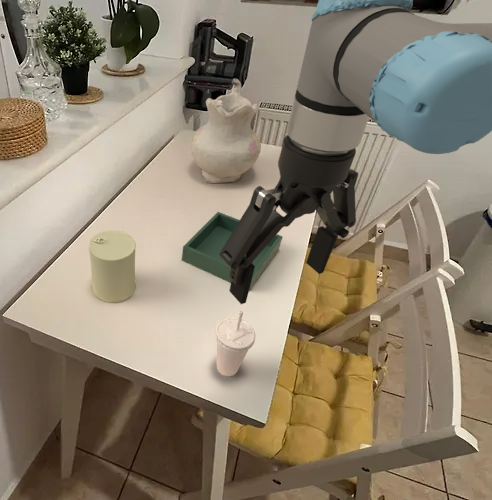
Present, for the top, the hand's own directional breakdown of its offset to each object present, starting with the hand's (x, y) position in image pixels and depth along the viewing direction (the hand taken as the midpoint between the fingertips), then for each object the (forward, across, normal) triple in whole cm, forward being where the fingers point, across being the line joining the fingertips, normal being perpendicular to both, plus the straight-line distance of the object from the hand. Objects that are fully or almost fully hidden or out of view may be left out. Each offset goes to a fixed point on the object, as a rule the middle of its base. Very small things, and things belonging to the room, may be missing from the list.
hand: (277, 281), depth 60 cm
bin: (+23, -16, -28) cm, 39 cm away
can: (+23, +13, -30) cm, 40 cm away
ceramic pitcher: (+23, -36, -61) cm, 74 cm away
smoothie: (+23, +2, -3) cm, 23 cm away
